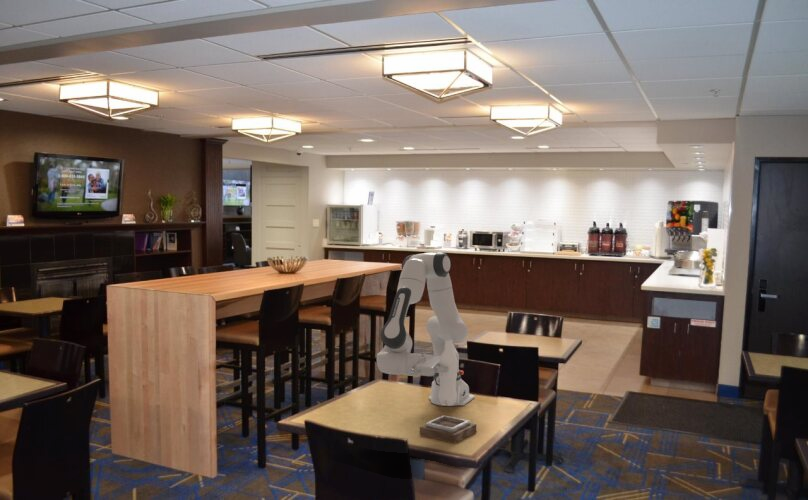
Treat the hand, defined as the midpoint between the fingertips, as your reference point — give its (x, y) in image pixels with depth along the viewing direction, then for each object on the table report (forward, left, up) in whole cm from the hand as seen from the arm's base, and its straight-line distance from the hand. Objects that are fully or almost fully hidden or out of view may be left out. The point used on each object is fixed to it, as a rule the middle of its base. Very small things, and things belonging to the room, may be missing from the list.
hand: (450, 367), depth 252 cm
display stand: (0, -1, -26) cm, 26 cm away
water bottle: (0, -1, -15) cm, 15 cm away
